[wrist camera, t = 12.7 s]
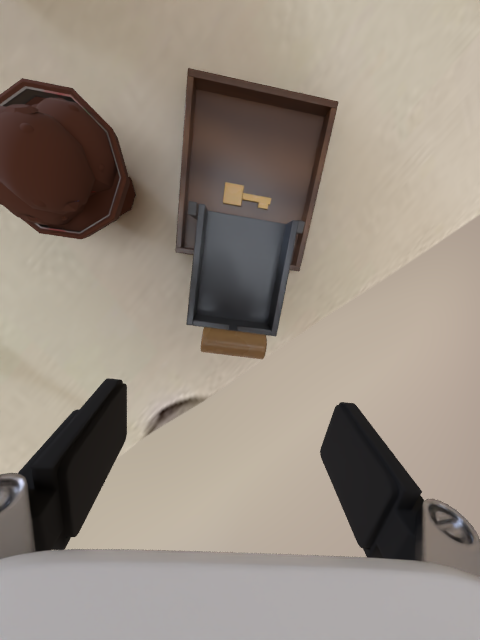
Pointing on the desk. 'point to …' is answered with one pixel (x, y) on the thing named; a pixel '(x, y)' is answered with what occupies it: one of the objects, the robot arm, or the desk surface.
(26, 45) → the desk surface
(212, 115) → the tray
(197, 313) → the scoop
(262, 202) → the key
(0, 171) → the ice cream bowl
